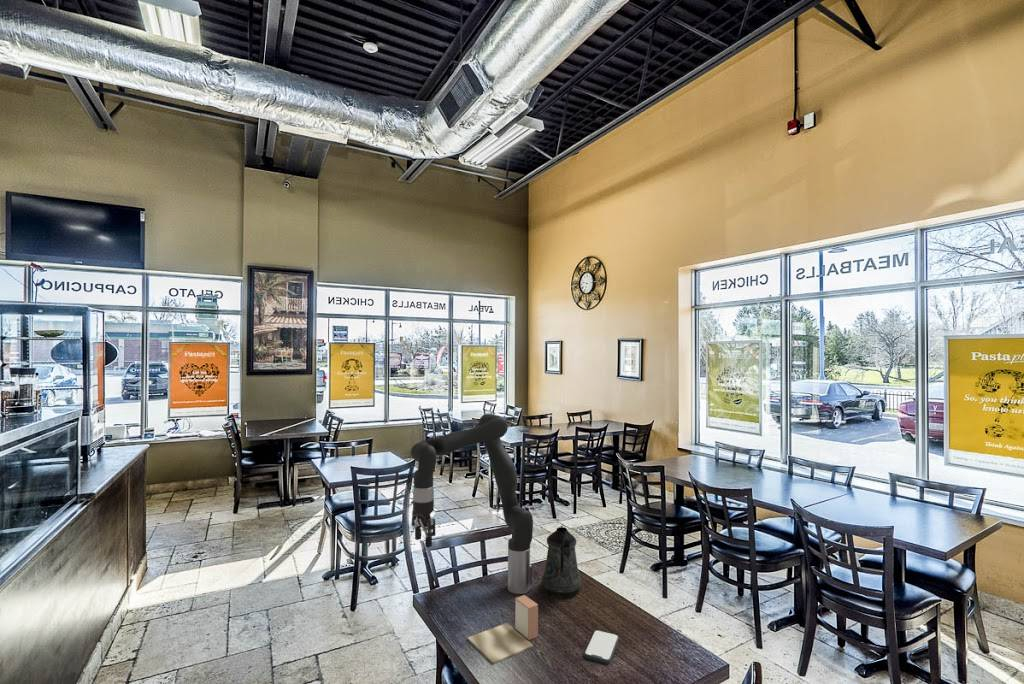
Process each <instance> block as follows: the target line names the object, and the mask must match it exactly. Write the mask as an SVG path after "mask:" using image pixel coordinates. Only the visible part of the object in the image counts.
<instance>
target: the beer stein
mask: <svg viewBox="0 0 1024 684" xmlns="http://www.w3.org/2000/svg"><path fill="white" fill-rule="evenodd" d="M546 544H547V545H548V546H547V547H548V548H547V554H546V560H545V568H544V571H543V575H542V576H541V585H542V589H543V591H544V593H546V594H547V595H548V596H552V597H554V598H559V599H567V598H572V597H576V596H577V595H579V594H580V593H581V587H582V578H581V575H580V572H579V568H578V567H579V566H578V562H577V554H576V545H577V538H576V537H575V536H574V535H573V534H572V533H571V532H569V530H568V529H567V527H563V526H561V527H560V526H559V527H556V530H555V531H554V532H552V533H550V534H549V535H548V537H546Z"/></svg>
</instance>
